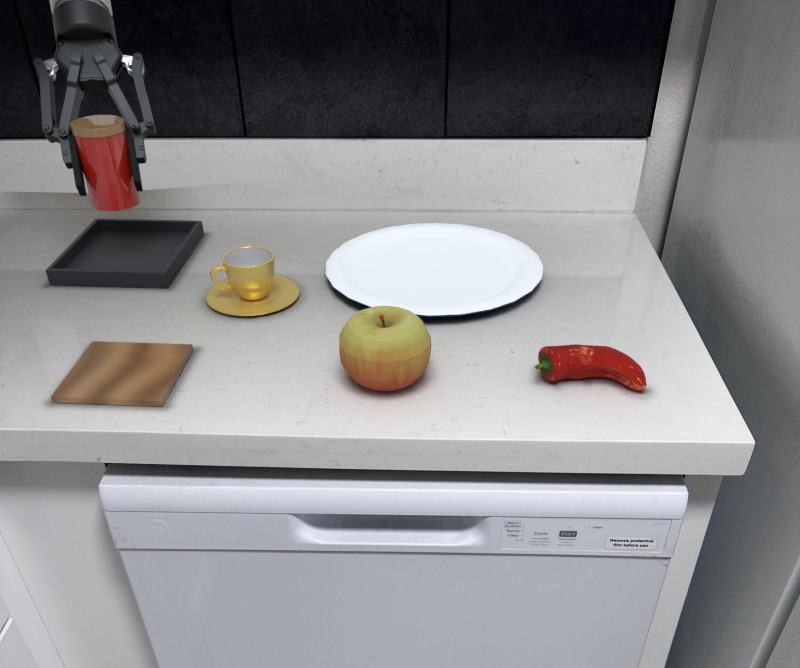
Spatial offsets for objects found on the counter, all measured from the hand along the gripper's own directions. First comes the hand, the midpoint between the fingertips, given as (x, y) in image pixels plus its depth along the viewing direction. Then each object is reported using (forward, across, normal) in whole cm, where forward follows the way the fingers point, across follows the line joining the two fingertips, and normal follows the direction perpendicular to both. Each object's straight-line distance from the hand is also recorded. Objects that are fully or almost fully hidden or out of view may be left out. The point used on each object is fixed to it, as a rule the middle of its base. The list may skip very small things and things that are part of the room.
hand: (109, 188), depth 102 cm
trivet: (+28, 0, +13) cm, 31 cm away
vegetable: (+38, -49, +23) cm, 66 cm away
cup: (+17, -16, +2) cm, 23 cm away
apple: (+34, -28, +19) cm, 48 cm away
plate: (+16, -40, +1) cm, 43 cm away
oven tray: (+5, 0, -10) cm, 11 cm away
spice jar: (0, 0, -5) cm, 5 cm away
